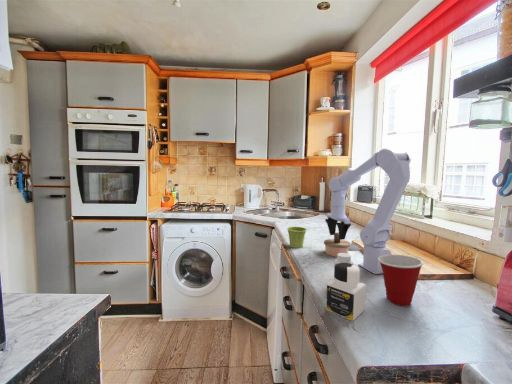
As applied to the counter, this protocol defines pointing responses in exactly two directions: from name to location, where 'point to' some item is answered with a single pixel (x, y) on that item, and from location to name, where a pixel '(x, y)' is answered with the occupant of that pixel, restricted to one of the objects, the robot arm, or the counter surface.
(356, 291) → the medicine bottle
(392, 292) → the plastic cup
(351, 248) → the mat
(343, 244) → the lid
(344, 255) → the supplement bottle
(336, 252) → the bowl
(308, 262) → the counter surface
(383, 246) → the robot arm
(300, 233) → the plant pot
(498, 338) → the counter surface
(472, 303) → the counter surface
